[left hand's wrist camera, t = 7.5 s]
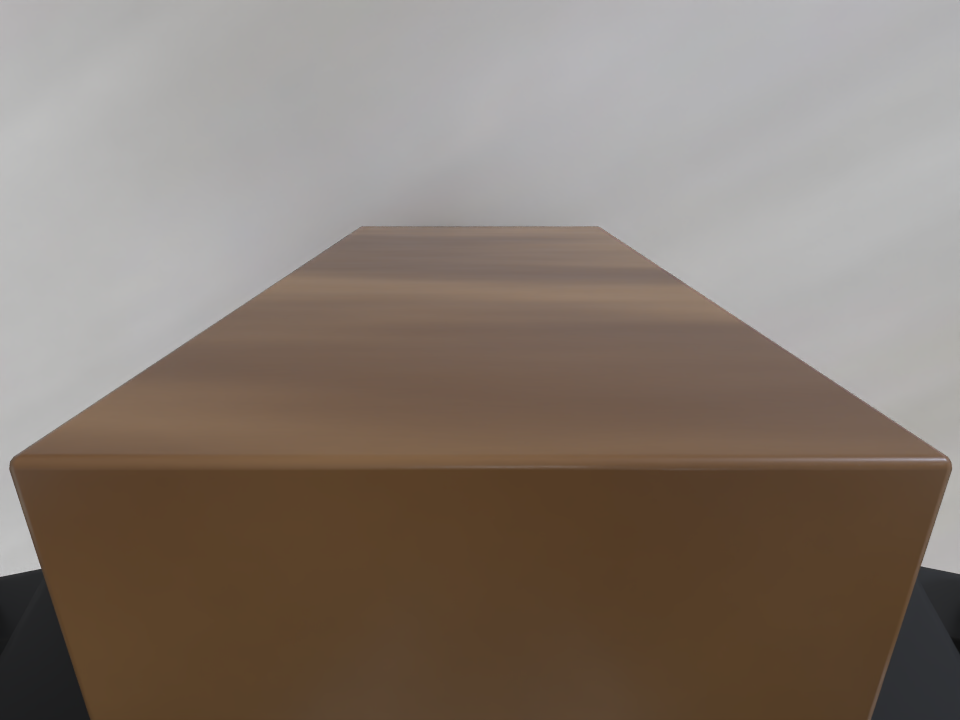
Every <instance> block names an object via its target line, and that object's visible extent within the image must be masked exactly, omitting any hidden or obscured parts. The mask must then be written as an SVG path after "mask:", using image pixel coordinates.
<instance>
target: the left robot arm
mask: <svg viewBox="0 0 960 720" xmlns="http://www.w3.org/2000/svg"><path fill="white" fill-rule="evenodd" d="M0 720H90V717H89V714H88V711H87V708H86V705H85V702H84V699H83V696H82V693H81V689H80V686H79V683H78V680H77V677H76V674H75V671H74V668H73V665H72V662H71V658H70V655H69V652H68V649H67V646H66V643H65V640H64V637H63V634H62V631H61V628H60V624H59V621H58V618H57V615H56V612H55V609H54V606H53V603H52V600H51V597H50V593H49V590H48V587H47V584H46V581H45V578H44V575H43V572H42V569H38V570H33V571H28V572H23V573H18V574H13V575H8V576H3V577H0ZM871 720H960V574H956V573H951V572H946V571H941V570H936V569H931V568H926V567H920V570H919V573H918V576H917V579H916V582H915V585H914V588H913V591H912V594H911V597H910V600H909V604H908V607H907V610H906V613H905V616H904V619H903V622H902V625H901V628H900V631H899V634H898V637H897V641H896V644H895V647H894V650H893V653H892V656H891V659H890V662H889V665H888V668H887V671H886V674H885V678H884V681H883V684H882V687H881V690H880V693H879V696H878V699H877V702H876V705H875V708H874V711H873V715H872V718H871Z"/></svg>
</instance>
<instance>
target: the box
mask: <svg viewBox="0 0 960 720" xmlns="http://www.w3.org/2000/svg"><path fill="white" fill-rule="evenodd" d="M9 470H10V473H11V476H12V479H13V482H14V485H15V488H16V491H17V494H18V498H19V501H20V504H21V507H22V510H23V513H24V516H25V519H26V522H27V525H28V528H29V532H30V535H31V538H32V541H33V544H34V547H35V550H36V553H37V556H38V559H39V563H40V566H41V569H42V572H43V575H44V578H45V581H46V584H47V587H48V590H49V593H50V597H51V600H52V603H53V606H54V609H55V612H56V615H57V618H58V621H59V624H60V628H61V631H62V634H63V637H64V640H65V643H66V646H67V649H68V652H69V655H70V658H71V662H72V665H73V668H74V671H75V674H76V677H77V680H78V683H79V686H80V689H81V693H82V696H83V699H84V702H85V705H86V708H87V711H88V714H89V717H90V720H871V718H872V715H873V711H874V708H875V705H876V702H877V699H878V696H879V693H880V690H881V687H882V684H883V681H884V678H885V674H886V671H887V668H888V665H889V662H890V659H891V656H892V653H893V650H894V647H895V644H896V641H897V637H898V634H899V631H900V628H901V625H902V622H903V619H904V616H905V613H906V610H907V607H908V604H909V600H910V597H911V594H912V591H913V588H914V585H915V582H916V579H917V576H918V573H919V570H920V567H921V563H922V560H923V557H924V554H925V551H926V548H927V545H928V542H929V539H930V536H931V533H932V530H933V526H934V523H935V520H936V517H937V514H938V511H939V508H940V505H941V502H942V499H943V496H944V492H945V489H946V486H947V483H948V480H949V477H950V474H951V471H952V464H951V461H950V459H949V458H948V457H947V456H946V455H944V454H943V453H941V452H940V451H938V450H937V449H935V448H934V447H932V446H931V445H929V444H927V443H926V442H924V441H923V440H921V439H920V438H918V437H917V436H915V435H914V434H912V433H911V432H909V431H908V430H906V429H905V428H903V427H902V426H900V425H899V424H897V423H896V422H894V421H893V420H891V419H890V418H888V417H887V416H885V415H884V414H882V413H881V412H879V411H878V410H876V409H874V408H873V407H871V406H870V405H868V404H867V403H865V402H864V401H862V400H861V399H859V398H858V397H856V396H855V395H853V394H852V393H850V392H849V391H847V390H846V389H844V388H843V387H841V386H840V385H838V384H837V383H835V382H834V381H832V380H831V379H829V378H828V377H826V376H824V375H823V374H821V373H820V372H818V371H817V370H815V369H814V368H812V367H811V366H809V365H808V364H806V363H805V362H803V361H802V360H800V359H799V358H797V357H796V356H794V355H793V354H791V353H790V352H788V351H787V350H785V349H784V348H782V347H781V346H779V345H778V344H776V343H775V342H773V341H771V340H770V339H768V338H767V337H765V336H764V335H762V334H761V333H759V332H758V331H756V330H755V329H753V328H752V327H750V326H749V325H747V324H746V323H744V322H743V321H741V320H740V319H738V318H737V317H735V316H734V315H732V314H731V313H729V312H728V311H726V310H725V309H723V308H721V307H720V306H718V305H717V304H715V303H714V302H712V301H711V300H709V299H708V298H706V297H705V296H703V295H702V294H700V293H699V292H697V291H696V290H694V289H693V288H691V287H690V286H688V285H687V284H685V283H684V282H682V281H681V280H679V279H678V278H676V277H675V276H673V275H672V274H670V273H668V272H667V271H665V270H664V269H662V268H661V267H659V266H658V265H656V264H655V263H653V262H652V261H650V260H649V259H647V258H646V257H644V256H643V255H641V254H640V253H638V252H637V251H635V250H634V249H632V248H631V247H629V246H628V245H626V244H625V243H623V242H622V241H620V240H618V239H617V238H615V237H614V236H612V235H611V234H609V233H608V232H606V231H605V230H603V229H602V228H600V227H416V226H362V227H360V228H358V229H357V230H355V231H354V232H352V233H351V234H349V235H348V236H346V237H345V238H343V239H342V240H340V241H339V242H337V243H336V244H334V245H333V246H331V247H330V248H328V249H327V250H325V251H324V252H322V253H321V254H319V255H318V256H316V257H315V258H313V259H312V260H310V261H309V262H307V263H306V264H304V265H303V266H301V267H300V268H298V269H296V270H295V271H293V272H292V273H290V274H289V275H287V276H286V277H284V278H283V279H281V280H280V281H278V282H277V283H275V284H274V285H272V286H271V287H269V288H268V289H266V290H265V291H263V292H262V293H260V294H259V295H257V296H256V297H254V298H253V299H251V300H250V301H248V302H247V303H245V304H244V305H242V306H241V307H239V308H238V309H236V310H235V311H233V312H232V313H230V314H229V315H227V316H226V317H224V318H223V319H221V320H220V321H218V322H216V323H215V324H213V325H212V326H210V327H209V328H207V329H206V330H204V331H203V332H201V333H200V334H198V335H197V336H195V337H194V338H192V339H191V340H189V341H188V342H186V343H185V344H183V345H182V346H180V347H179V348H177V349H176V350H174V351H173V352H171V353H170V354H168V355H167V356H165V357H164V358H162V359H161V360H159V361H158V362H156V363H155V364H153V365H152V366H150V367H149V368H147V369H146V370H144V371H143V372H141V373H140V374H138V375H136V376H135V377H133V378H132V379H130V380H129V381H127V382H126V383H124V384H123V385H121V386H120V387H118V388H117V389H115V390H114V391H112V392H111V393H109V394H108V395H106V396H105V397H103V398H102V399H100V400H99V401H97V402H96V403H94V404H93V405H91V406H90V407H88V408H87V409H85V410H84V411H82V412H81V413H79V414H78V415H76V416H75V417H73V418H72V419H70V420H69V421H67V422H66V423H64V424H63V425H61V426H60V427H58V428H56V429H55V430H53V431H52V432H50V433H49V434H47V435H46V436H44V437H43V438H41V439H40V440H38V441H37V442H35V443H34V444H32V445H31V446H29V447H28V448H26V449H25V450H23V451H22V452H20V453H19V454H17V455H16V456H14V457H13V459H12V460H11V461H10V468H9Z"/></svg>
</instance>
